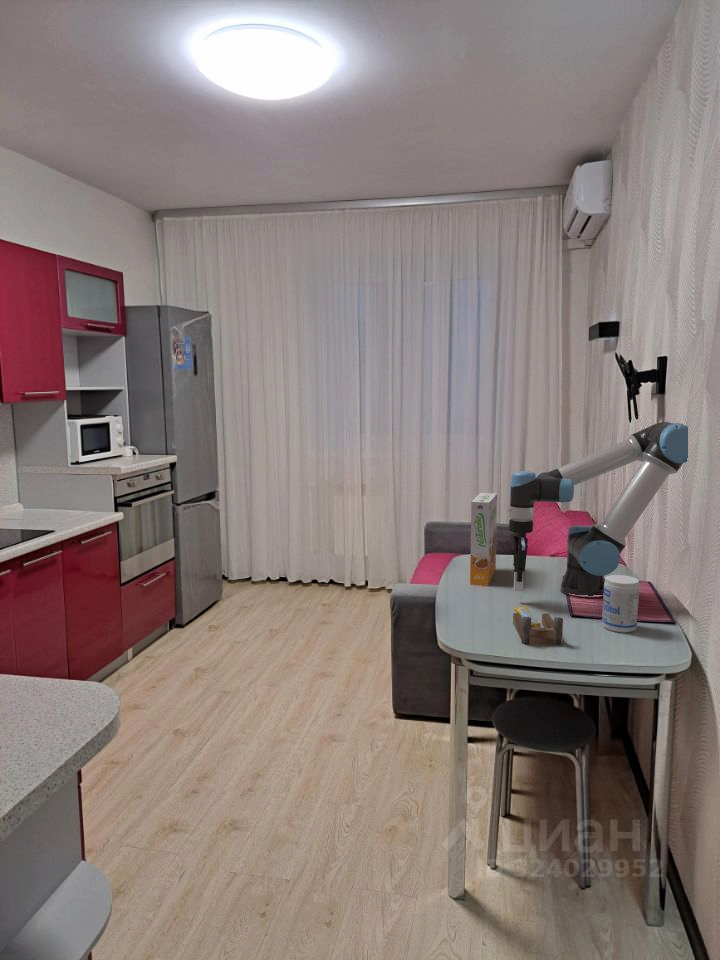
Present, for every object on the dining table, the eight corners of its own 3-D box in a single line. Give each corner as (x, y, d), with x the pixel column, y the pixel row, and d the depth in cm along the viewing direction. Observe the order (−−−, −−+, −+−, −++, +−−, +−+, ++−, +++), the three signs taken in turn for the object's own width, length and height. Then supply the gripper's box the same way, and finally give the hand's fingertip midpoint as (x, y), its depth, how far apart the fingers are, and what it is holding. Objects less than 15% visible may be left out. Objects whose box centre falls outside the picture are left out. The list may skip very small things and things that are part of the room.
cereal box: (487, 585, 247) (489, 502, 243) (470, 584, 248) (471, 501, 245) (495, 570, 268) (497, 493, 264) (479, 569, 270) (480, 492, 266)
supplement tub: (595, 627, 203) (597, 578, 201) (611, 620, 210) (613, 572, 208) (627, 636, 196) (630, 585, 194) (642, 628, 202) (645, 578, 201)
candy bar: (541, 629, 203) (541, 623, 203) (527, 629, 203) (527, 623, 203) (526, 611, 220) (526, 605, 220) (513, 611, 220) (513, 605, 220)
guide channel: (549, 623, 207) (549, 600, 206) (563, 645, 189) (563, 620, 188) (512, 622, 207) (512, 600, 207) (522, 644, 190) (523, 619, 189)
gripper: (506, 515, 230) (503, 584, 233) (512, 522, 217) (509, 596, 220) (529, 515, 230) (526, 585, 233) (537, 523, 217) (533, 596, 220)
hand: (518, 590), depth 226 cm, fingers closed
